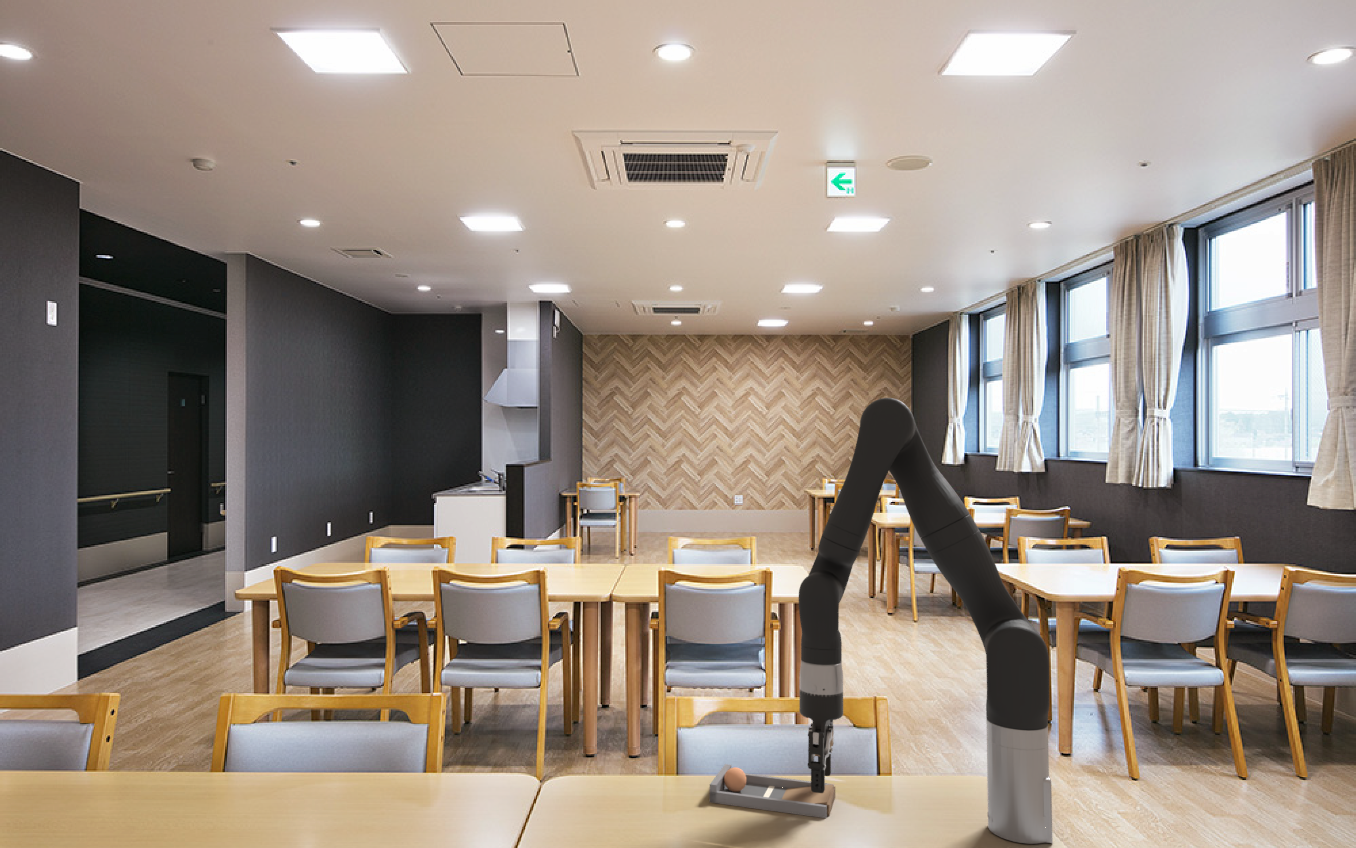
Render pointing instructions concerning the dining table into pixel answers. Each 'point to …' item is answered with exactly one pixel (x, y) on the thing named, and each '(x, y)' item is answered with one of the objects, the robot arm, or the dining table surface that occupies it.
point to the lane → (764, 794)
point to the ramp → (812, 796)
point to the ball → (735, 779)
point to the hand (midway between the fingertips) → (821, 783)
